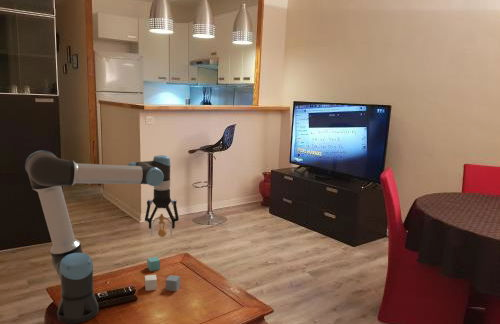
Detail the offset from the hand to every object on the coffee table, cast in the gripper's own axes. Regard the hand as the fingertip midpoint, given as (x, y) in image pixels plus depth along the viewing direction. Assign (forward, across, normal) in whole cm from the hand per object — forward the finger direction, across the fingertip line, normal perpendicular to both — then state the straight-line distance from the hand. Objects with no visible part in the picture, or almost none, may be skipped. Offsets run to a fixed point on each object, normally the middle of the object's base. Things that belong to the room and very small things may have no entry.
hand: (161, 234), depth 189 cm
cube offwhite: (+21, -4, -11) cm, 24 cm away
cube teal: (+21, -5, +9) cm, 24 cm away
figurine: (+1, 0, 0) cm, 1 cm away
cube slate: (+21, +6, -12) cm, 25 cm away
